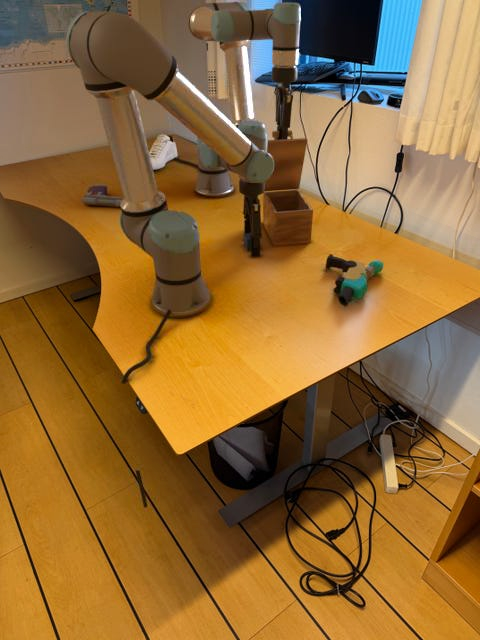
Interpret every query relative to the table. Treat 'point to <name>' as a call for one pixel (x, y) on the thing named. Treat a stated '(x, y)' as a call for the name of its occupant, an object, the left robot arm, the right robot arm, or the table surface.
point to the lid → (286, 162)
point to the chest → (287, 217)
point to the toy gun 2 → (352, 277)
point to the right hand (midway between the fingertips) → (281, 148)
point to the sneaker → (162, 151)
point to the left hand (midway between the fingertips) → (251, 247)
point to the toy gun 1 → (100, 197)
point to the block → (247, 241)
